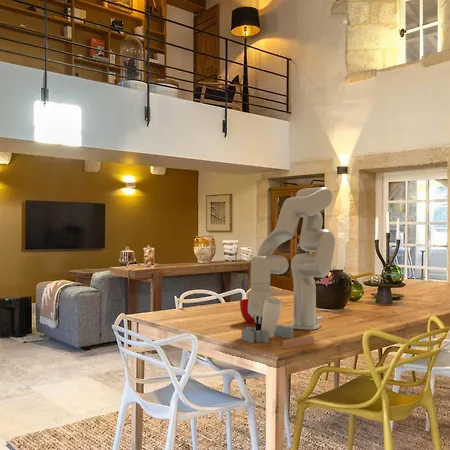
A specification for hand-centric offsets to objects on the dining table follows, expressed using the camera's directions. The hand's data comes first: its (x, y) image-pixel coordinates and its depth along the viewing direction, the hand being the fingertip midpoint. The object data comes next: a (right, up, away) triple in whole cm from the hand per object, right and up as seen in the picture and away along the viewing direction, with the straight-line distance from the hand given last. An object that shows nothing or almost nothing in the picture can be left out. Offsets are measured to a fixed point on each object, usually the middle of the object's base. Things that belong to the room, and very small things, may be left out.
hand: (259, 333), depth 204 cm
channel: (+5, -1, -9) cm, 11 cm away
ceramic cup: (-1, -1, +29) cm, 29 cm away
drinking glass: (+2, 0, -3) cm, 4 cm away
